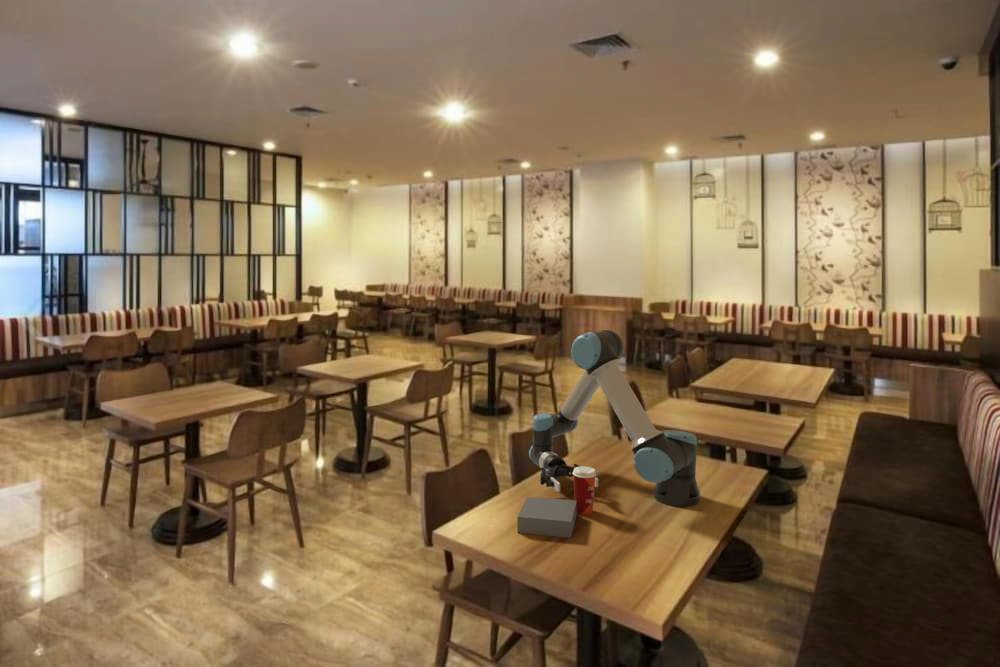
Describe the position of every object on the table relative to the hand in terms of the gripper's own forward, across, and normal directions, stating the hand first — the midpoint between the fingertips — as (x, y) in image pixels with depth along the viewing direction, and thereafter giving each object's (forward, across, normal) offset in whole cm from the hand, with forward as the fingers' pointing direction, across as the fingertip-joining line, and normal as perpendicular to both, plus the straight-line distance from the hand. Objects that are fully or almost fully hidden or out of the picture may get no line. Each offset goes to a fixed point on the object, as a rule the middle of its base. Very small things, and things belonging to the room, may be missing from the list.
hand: (578, 485), depth 206 cm
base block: (+8, +14, -8) cm, 18 cm away
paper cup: (+3, 0, -8) cm, 8 cm away
